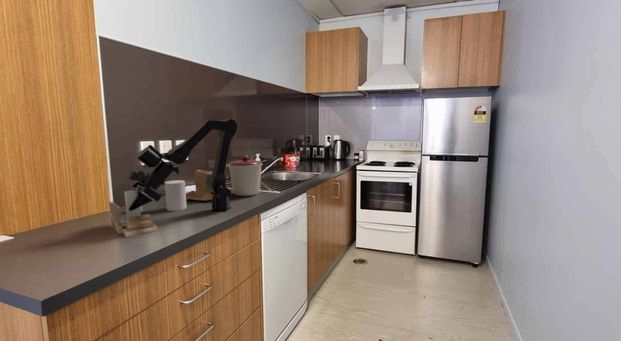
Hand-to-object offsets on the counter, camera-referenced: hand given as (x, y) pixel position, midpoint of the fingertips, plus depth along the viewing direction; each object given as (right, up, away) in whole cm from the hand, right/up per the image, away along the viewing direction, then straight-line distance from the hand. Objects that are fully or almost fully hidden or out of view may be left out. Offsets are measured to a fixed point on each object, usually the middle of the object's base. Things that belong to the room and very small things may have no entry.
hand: (128, 209), depth 114 cm
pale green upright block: (+1, -6, +2) cm, 7 cm away
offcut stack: (+6, -6, -4) cm, 10 cm away
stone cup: (+11, -1, +44) cm, 46 cm away
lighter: (-9, -4, +24) cm, 26 cm away
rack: (+2, -7, 0) cm, 7 cm away
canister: (+31, +1, +56) cm, 64 cm away
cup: (+6, -3, +27) cm, 28 cm away
